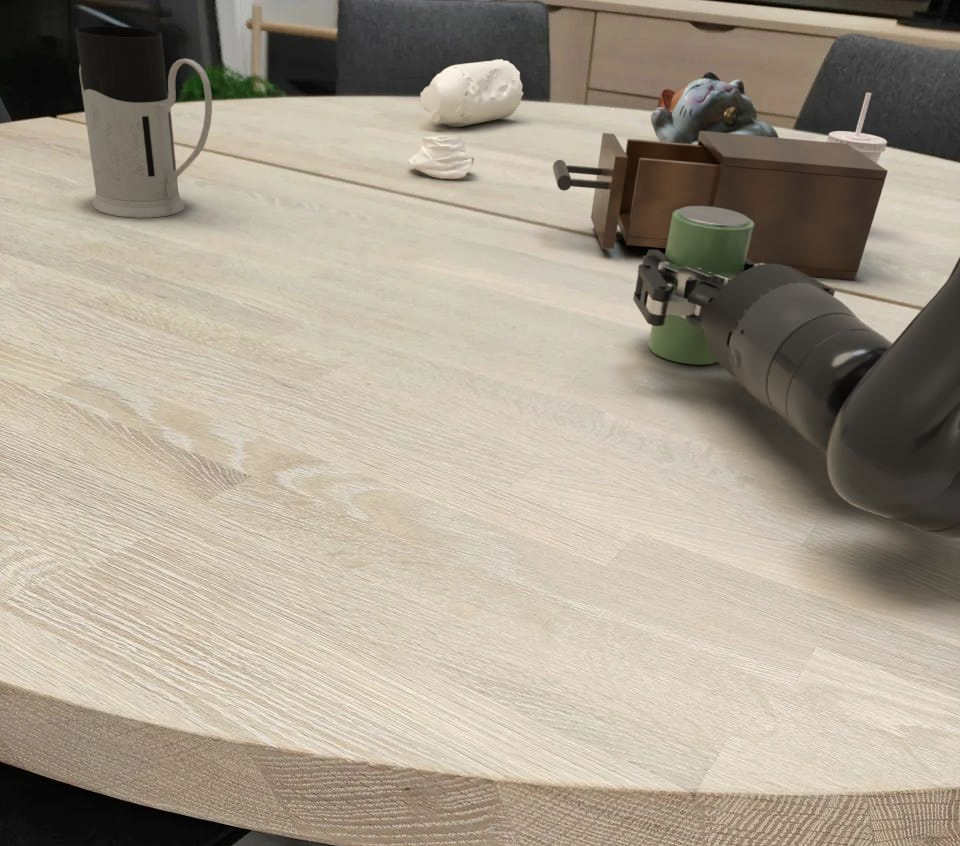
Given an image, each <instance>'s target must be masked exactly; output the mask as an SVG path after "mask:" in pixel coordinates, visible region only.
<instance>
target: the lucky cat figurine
mask: <svg viewBox="0 0 960 846" xmlns="http://www.w3.org/2000/svg"><path fill="white" fill-rule="evenodd" d="M659 95H660V96H659V97H660V98H659V100H658V103H657V106H656V108H655V109H654V111H653V112H651V114H650V121H651V126H652V128H653V131H654V133H655V135H656V138H657V140H658V141H660V142H672V143H683V144H694V145H697V142H698V136H699V132H700V131H708V132H720V133H731V134H742V135H753V136H764V137H776V138H780V137H779V134H778V133H777V131H776V129H775V128H774V127H773V126H772V125H771V124H769V123H768V122H766V121H763V120H762V119H761V120H760V119H757V118H758V115H757V109H756V108H755V107H754V104H753V101H752V100H751V98H750V97H749V96H748V95H747V94H746V92H745V85H744V81H743V80H741V79H740V78H739V79H735V80H732V81H731V82H730V83H728V82H725V81H722V80H721V79H720V77H718V76H717V75H716V73H713V72H711V71H708V72H705V73H704V75H703V76H702V77H701V78H699V79H697V78H696V79H694V80H692V81H691V82H689V83H687V84H686V85H684V86H683V87H682V88H681V89H680V90H679V91H678V90H672V89H671V88H665V89H661V91H660V93H659Z"/></svg>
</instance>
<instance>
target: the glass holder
mask: <svg viewBox="0 0 960 846" xmlns="http://www.w3.org/2000/svg"><path fill="white" fill-rule="evenodd" d="M74 30H75V38H76V44H77V52H78V60H79V69H78V74H79V81H80V87H81V95H82V102H83V109H84V117H85V122H86V123H85V124H86V130H87V131H86V132H87V138H88V144H89V152H90V158H91V167H92V173H93V180H94V188H95V192H94V194H95V196H94V199H93V202H92V207H93V209H95V210H96V211H98V212H100V213H103V214H106V215H111V216H114V217H121V218H137V219H139V218H141V219H142V218H144V219H145V218H146V219H147V218H161V217H167V216H172V215H176V214H178V213H180V212H182V211H183V210H184V209H185V204H184V201H183V200H182V198H181V195H180V192H179V185H178V183H179V182H178V178H179V176H180V175H181V174H182V173H184V171H186V170H187V169H188V168H189V167H190V166H191V164H192V163H193V162H194V161H195V159H196V158H198V156H199V155H200V154H201V152H203V150H204V147H205V144H206V142H207V140H208V137H209V132H210V129H211V123H212V116H213V115H212V114H213V98H212V97H213V95H212V89H211V81H210V80H209V77H208V75H207V73H206V71H205V69H204V68H203V67H202V65H201V64H199V63H198V62H197V61H195V60H193V59H190V58H181V59H178V60H176V61H175V62H174V63H173V64H172V65H171V66H170V69H169V73H168V77H167V76H166V64H165V56H164V55H165V54H164V53H165V52H164V44H163V34H162V33H161V32H159V31H156V30H151V29H146V28H140V27H132V26H131V27H130V26H119V25H118V26H117V25H88V26H87V25H85V26H79V27H76V28H75V29H74ZM184 64H187V65H189V66H191V67H192V68H193V69H195V71H196V72H197V73H198V75H199V78H200V80H201V82H202V84H203V85H202V86H203V92H204V119H203V126H202V130H201V133H200V137H199V140H198V142H197V144H196V147H195V149H194V150H193V152H192V153H191V154H190V155H189V157H188V158H187V159H186V160H185V161H184V162H183V163H182V164H181V165H180V166H178V168H177V163H176V161H177V160H176V154H175V153H176V152H175V151H176V149H175V141H174V131H173V120H172V107H174V105H175V104H176V99H177V96H176V95H177V93H176V91H177V90H176V78H177V73H178V70H179V69H180V67H181V66H182V65H184Z"/></svg>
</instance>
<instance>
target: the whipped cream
mask: <svg viewBox="0 0 960 846" xmlns="http://www.w3.org/2000/svg"><path fill="white" fill-rule="evenodd" d="M422 143H423V145H421V146H420V149H419V151H418V153H414V155H412V157H410V158H408V160H407V163H408V164H410V165H411V166H412V167H413V168H414V169H415V170H417V171H419V172H421V173H423V174H425V175H428V176H429V177H433V178H437V179H442V180H445V179H449V180H457V179H461V178H464V177H466V176H467V173H468V172H469V167H470V168H472V166H474V161H475V158H474V156H473V155H471V154H469V153H468V152H466V149H465V140H464V139H462V138H461V136H459V135H436V136H425V137H423V139H422Z"/></svg>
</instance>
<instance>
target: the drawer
mask: <svg viewBox="0 0 960 846" xmlns="http://www.w3.org/2000/svg"><path fill="white" fill-rule="evenodd" d="M625 145H626V146H625V150H624V148H623V145H621V143H620V141H619V139H618V137H617V136H616V134H615V133H610V132H609V133H607V132H602V136H601V142H600V151H599V155H598V156H599V157H598V164H597V167H593V166H581V165H571V164H570V165H569V164H567V163H566V162H565V161H564V160H563V159H558V160H557V159H556V160H555V161H554V163H553V164H552V171H553V175H554V178H555V182H556V184H557V187H558V189H559V190H560V191H563V192H564V191H569V189H570V188H571V187H573V188H575V187H576V188H585V189H586V188H587V189H594V191H593V200H592V207H591V215H590V220H591V223H592V225H593V227H594V231H595V233H596V236H597V238H598V241H599V245H600V246H601V249H607V250H614V249H615V244H616V238H617V231H618V228H619V231H620V233H621V236H622V237H623V240H624V242H625V244H626V246H632V247H633V246H635V247H645V248H659V249H666V246H667V240H668V235H669V230H670V224H671V219H672V213H673V212H674V211H675V210H677V209H681V208H683V207H688V206H708V207H712V203H713V199H714V194H715V189H716V184H717V179H718V174H719V170H720V165H721V163H720V162H719V161H718V160H717V159H716V158H715V157H714V156H713V154H712V153H711V152H710V151H709V150H708V149H707V148H706V147H705V146H704V145H694V144H683V143H672V142H660V141H659V140H647V139H638V138H637V139H636V138H627V140H626V144H625ZM571 174H579V175H591V176H596V179H595V180H593V179H582V178H581V179H580V178H572V177H571Z"/></svg>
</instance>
